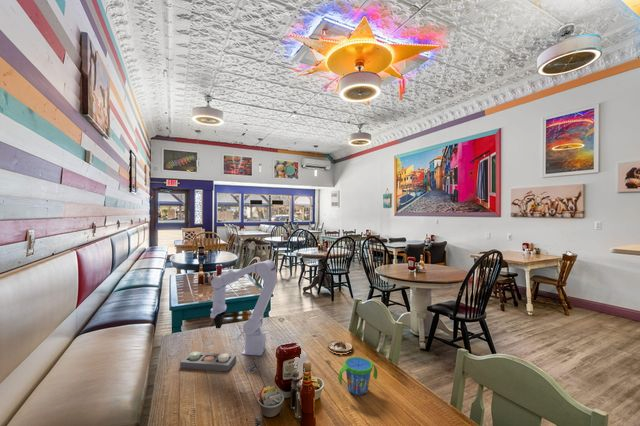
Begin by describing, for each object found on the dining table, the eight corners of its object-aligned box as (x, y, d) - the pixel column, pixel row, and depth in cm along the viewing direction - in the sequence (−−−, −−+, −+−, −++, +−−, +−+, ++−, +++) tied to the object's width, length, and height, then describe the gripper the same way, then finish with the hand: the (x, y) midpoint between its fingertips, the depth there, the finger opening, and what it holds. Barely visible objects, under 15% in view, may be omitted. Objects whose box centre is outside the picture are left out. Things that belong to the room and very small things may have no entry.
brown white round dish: (357, 345, 150) (357, 337, 150) (353, 359, 135) (353, 350, 135) (328, 341, 153) (329, 333, 153) (322, 354, 139) (322, 346, 139)
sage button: (201, 356, 130) (202, 351, 130) (196, 361, 125) (197, 356, 125) (192, 356, 130) (192, 351, 130) (187, 361, 125) (187, 356, 125)
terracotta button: (215, 361, 129) (216, 356, 129) (211, 366, 125) (211, 361, 125) (206, 360, 129) (206, 355, 129) (201, 365, 125) (201, 360, 125)
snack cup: (371, 380, 118) (372, 354, 118) (382, 396, 108) (383, 368, 108) (334, 384, 114) (334, 358, 114) (342, 401, 104) (343, 372, 104)
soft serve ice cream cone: (289, 394, 107) (290, 350, 107) (281, 382, 115) (282, 341, 115) (309, 388, 111) (310, 346, 111) (301, 377, 118) (302, 338, 118)
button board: (236, 360, 131) (236, 354, 131) (228, 371, 122) (228, 365, 122) (191, 357, 132) (191, 352, 132) (180, 367, 123) (180, 362, 123)
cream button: (230, 358, 128) (230, 353, 128) (226, 363, 124) (226, 358, 124) (220, 358, 129) (220, 353, 129) (216, 363, 124) (216, 358, 124)
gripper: (217, 295, 151) (216, 322, 151) (204, 304, 136) (203, 333, 136) (230, 296, 150) (230, 322, 150) (218, 305, 136) (218, 334, 136)
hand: (218, 327), depth 143 cm, fingers closed
